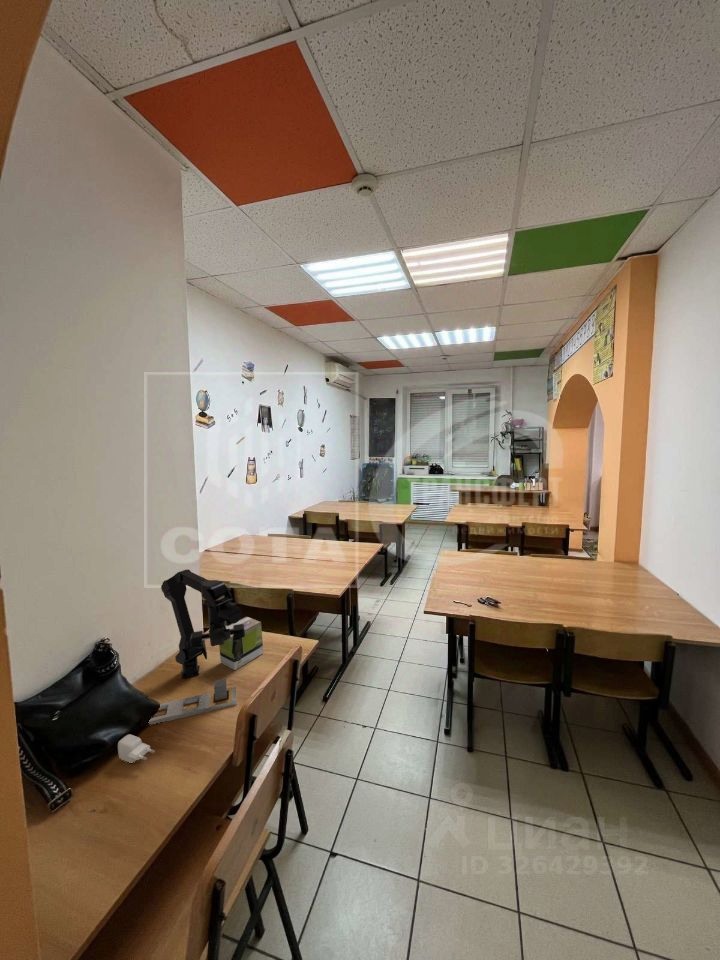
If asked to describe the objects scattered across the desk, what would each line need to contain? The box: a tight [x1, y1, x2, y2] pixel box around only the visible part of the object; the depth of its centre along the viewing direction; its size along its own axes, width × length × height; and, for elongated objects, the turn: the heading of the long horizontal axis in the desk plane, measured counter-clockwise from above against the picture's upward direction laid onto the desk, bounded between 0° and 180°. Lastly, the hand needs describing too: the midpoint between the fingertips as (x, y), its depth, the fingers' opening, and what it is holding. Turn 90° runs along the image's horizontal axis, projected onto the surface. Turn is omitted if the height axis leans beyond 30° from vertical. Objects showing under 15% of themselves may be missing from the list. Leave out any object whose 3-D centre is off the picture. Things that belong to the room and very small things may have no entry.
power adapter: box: [117, 733, 155, 764], centre depth 110 cm, size 11×5×6 cm, turn 68°
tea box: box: [218, 616, 264, 671], centre depth 160 cm, size 15×10×15 cm
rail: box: [148, 686, 237, 725], centre depth 132 cm, size 8×30×2 cm, turn 109°
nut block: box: [213, 678, 228, 703], centre depth 135 cm, size 4×4×7 cm
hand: (219, 656), depth 141 cm, fingers open, 9 cm apart
